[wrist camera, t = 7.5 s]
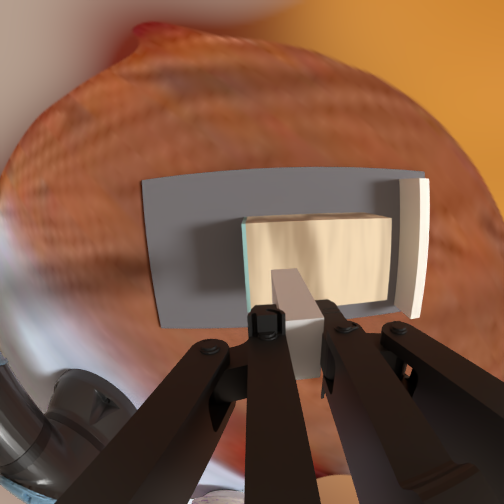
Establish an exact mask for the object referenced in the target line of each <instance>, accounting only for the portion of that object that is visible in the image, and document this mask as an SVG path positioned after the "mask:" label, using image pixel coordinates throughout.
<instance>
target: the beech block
mask: <svg viewBox="0 0 504 504" xmlns="http://www.w3.org/2000/svg"><path fill="white" fill-rule="evenodd" d="M241 225H242V240H243V256H244V271H245V285H246V300H247V312H251V309H252V308H253V307H254V306H255V305H266V304H272V283H271V270H275V269H292V268H297V269H298V271H299V273H300V275H301V276H302V278H303V280H304V282H305V284H306V285H307V287H308V289H309V291H310V293H311V294H312V296H313V298H314V300H323V299H328V300H330V301H332V302H334V303H335V304H336V305H337V306H338V305H348V304H357V303H365V302H374V301H381V300H387V294H388V283H389V271H390V256H391V230H392V218H389V217H384V216H379V215H375V214H370V213H365V212H353V213H317V214H291V215H270V216H251V217H244V219H243V221H242V224H241Z"/></svg>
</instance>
